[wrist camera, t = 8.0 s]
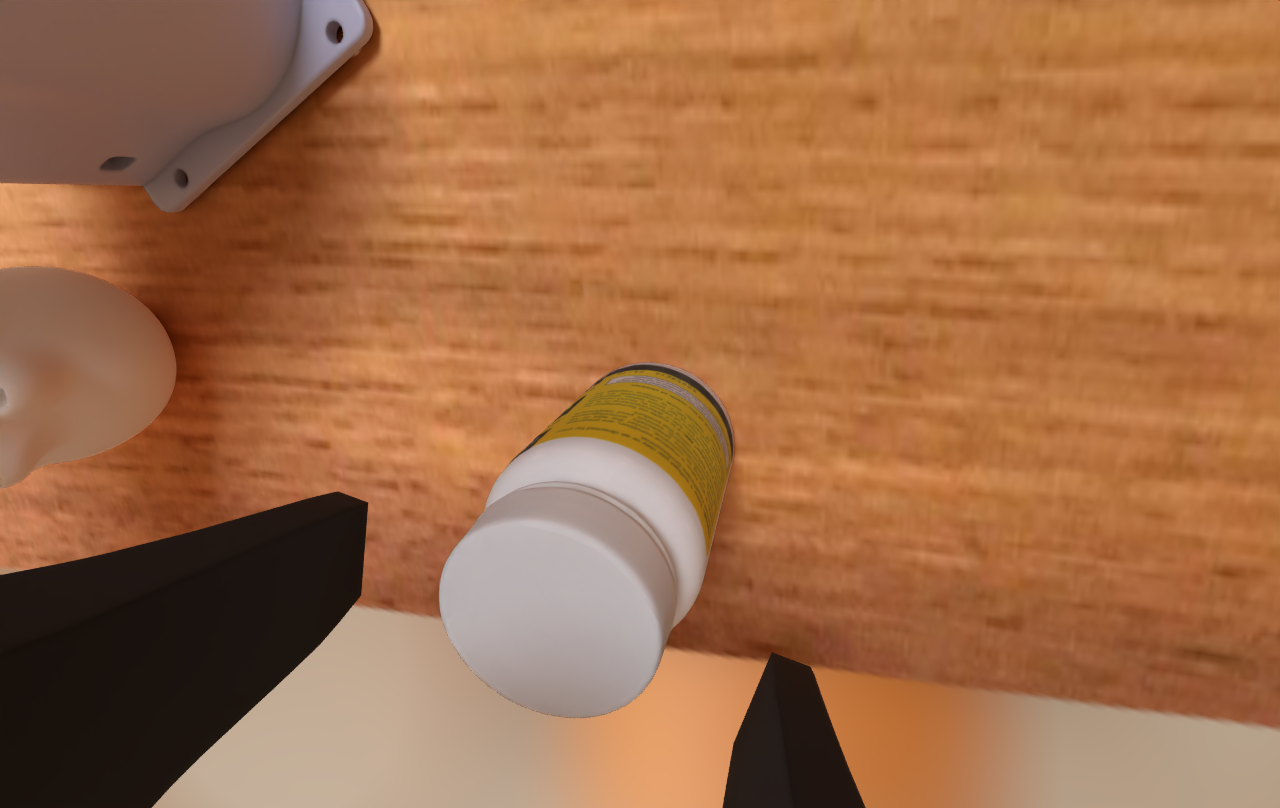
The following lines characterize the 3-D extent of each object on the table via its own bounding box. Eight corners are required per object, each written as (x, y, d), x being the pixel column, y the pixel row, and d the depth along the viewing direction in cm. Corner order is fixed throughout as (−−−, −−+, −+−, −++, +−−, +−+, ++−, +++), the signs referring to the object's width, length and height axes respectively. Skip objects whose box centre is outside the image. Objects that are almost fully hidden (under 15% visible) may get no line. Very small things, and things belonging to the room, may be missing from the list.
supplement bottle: (592, 340, 17) (425, 458, 9) (754, 382, 16) (719, 547, 9) (567, 485, 19) (409, 685, 11) (713, 529, 18) (653, 776, 10)
